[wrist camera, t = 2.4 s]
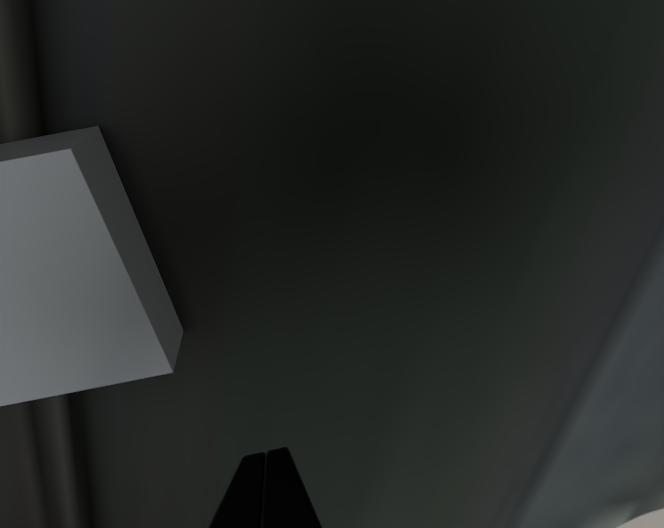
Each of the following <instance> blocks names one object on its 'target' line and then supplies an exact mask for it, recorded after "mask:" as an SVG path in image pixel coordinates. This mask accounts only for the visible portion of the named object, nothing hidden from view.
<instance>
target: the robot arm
mask: <svg viewBox="0 0 664 528" xmlns="http://www.w3.org/2000/svg"><path fill="white" fill-rule="evenodd" d="M208 528H322V526H321V524H320V522H319V519H318V517H317V515H316V512H315V510H314V508H313V505H312V503H311V501H310V498H309V496H308V494H307V491H306V489H305V487H304V484H303V482H302V479H301V477H300V475H299V472H298V470H297V468H296V465H295V463H294V461H293V458H292V456H291V454H290V451H289V449H288V448H287V447H283V448H278V449H274V450H269V451H268V452H267V453H266V454H265V453H263V452H260V453H256V454H251V455H247V456H244V457H243V458H242V459H241V460H240V462H239V464H238V466H237V469H236V471H235V473H234V475H233V477H232V479H231V481H230V483H229V485H228V487H227V489H226V491H225V493H224V495H223V498H222V500H221V502H220V504H219V506H218V508H217V510H216V512H215V514H214V516H213V518H212V520H211V522H210V524H209V527H208Z"/></svg>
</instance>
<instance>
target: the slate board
mask: <svg viewBox="0 0 664 528" xmlns="http://www.w3.org/2000/svg"><path fill="white" fill-rule="evenodd" d="M182 335H183V328H182V326H181V324H180V321H179V319H178V316H177V314H176V312H175V309H174V307H173V304H172V302H171V300H170V297H169V295H168V292H167V290H166V288H165V285H164V283H163V280H162V278H161V276H160V273H159V271H158V268H157V266H156V264H155V261H154V259H153V256H152V254H151V252H150V249H149V247H148V244H147V242H146V240H145V237H144V235H143V232H142V230H141V228H140V225H139V223H138V220H137V218H136V216H135V213H134V211H133V208H132V206H131V204H130V201H129V199H128V196H127V194H126V192H125V189H124V187H123V184H122V182H121V180H120V177H119V175H118V172H117V170H116V168H115V165H114V163H113V160H112V158H111V156H110V153H109V151H108V148H107V146H106V144H105V141H104V139H103V136H102V134H101V132H100V129H99V127H98V126H94V127H89V128H84V129H78V130H73V131H68V132H62V133H57V134H52V135H46V136H41V137H36V138H30V139H25V140H20V141H14V142H9V143H3V144H0V406H4V405H9V404H15V403H20V402H25V401H30V400H35V399H40V398H45V397H50V396H55V395H61V394H66V393H71V392H76V391H81V390H86V389H91V388H96V387H101V386H107V385H112V384H117V383H122V382H127V381H132V380H137V379H142V378H147V377H152V376H158V375H163V374H168V373H173V371H174V367H175V363H176V359H177V355H178V351H179V347H180V343H181V339H182Z"/></svg>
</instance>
